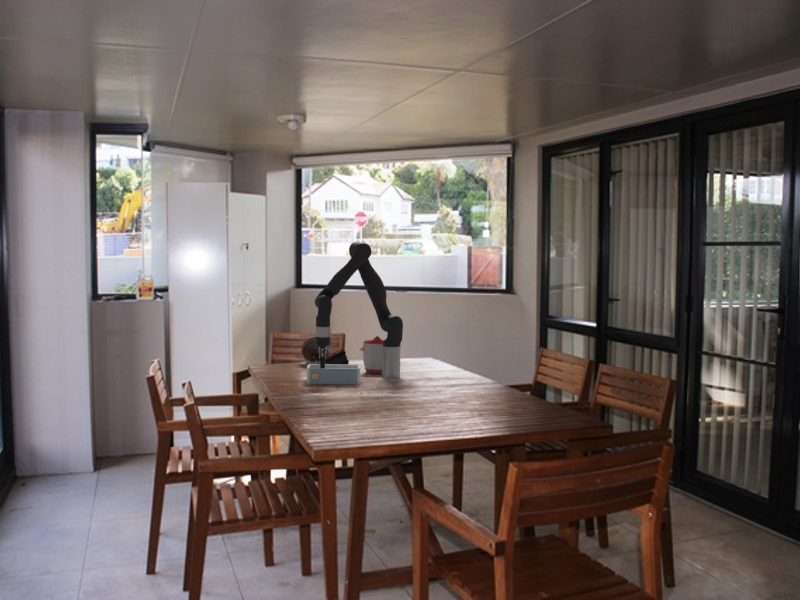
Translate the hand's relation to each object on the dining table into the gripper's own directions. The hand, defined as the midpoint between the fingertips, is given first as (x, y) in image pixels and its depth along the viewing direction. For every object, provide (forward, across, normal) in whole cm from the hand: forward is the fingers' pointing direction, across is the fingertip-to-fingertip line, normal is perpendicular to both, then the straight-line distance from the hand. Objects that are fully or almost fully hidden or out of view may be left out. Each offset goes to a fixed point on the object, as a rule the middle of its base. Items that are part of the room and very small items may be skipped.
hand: (322, 370), depth 363 cm
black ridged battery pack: (+7, -17, +7) cm, 20 cm away
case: (+7, 0, +6) cm, 9 cm away
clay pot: (+7, -57, -4) cm, 57 cm away
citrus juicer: (+7, -36, +28) cm, 46 cm away
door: (+6, +6, +5) cm, 10 cm away
